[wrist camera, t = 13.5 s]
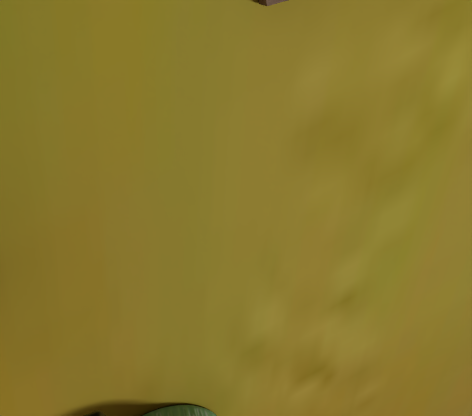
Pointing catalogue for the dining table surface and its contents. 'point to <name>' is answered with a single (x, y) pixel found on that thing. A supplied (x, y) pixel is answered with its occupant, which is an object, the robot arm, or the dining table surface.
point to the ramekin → (181, 411)
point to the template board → (270, 2)
